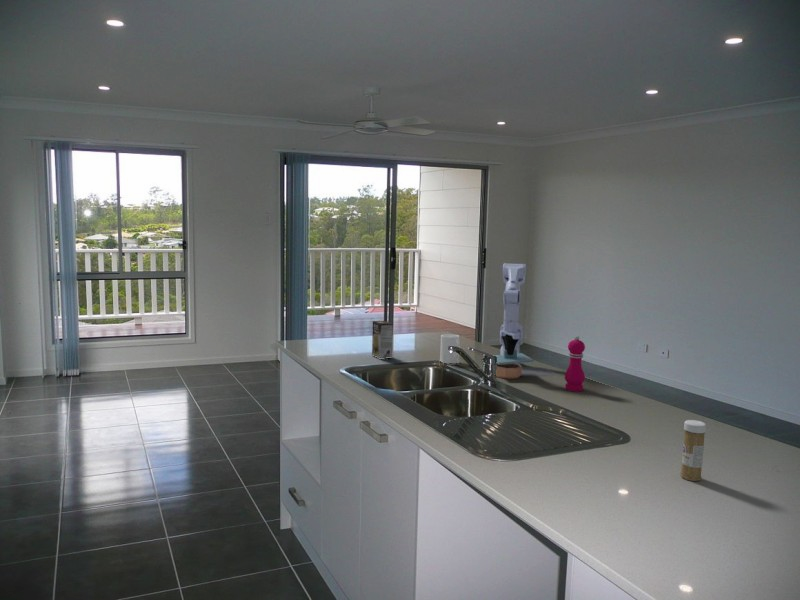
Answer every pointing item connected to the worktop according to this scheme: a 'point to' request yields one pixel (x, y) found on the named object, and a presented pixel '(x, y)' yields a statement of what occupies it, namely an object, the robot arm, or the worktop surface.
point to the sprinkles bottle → (693, 450)
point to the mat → (537, 371)
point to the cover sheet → (512, 358)
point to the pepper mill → (575, 366)
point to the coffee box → (382, 339)
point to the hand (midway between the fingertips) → (509, 354)
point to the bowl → (509, 371)
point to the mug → (444, 353)
